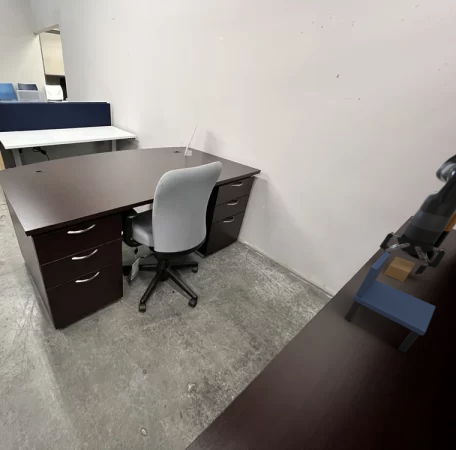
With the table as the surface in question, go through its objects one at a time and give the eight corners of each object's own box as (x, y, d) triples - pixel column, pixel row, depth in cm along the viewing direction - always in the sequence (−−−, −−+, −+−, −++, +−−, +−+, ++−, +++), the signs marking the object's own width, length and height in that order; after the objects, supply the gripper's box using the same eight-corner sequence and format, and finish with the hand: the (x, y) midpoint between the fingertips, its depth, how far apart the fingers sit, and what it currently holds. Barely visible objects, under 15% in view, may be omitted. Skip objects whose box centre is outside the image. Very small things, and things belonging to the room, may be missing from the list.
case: (409, 272, 84) (415, 263, 82) (403, 282, 79) (409, 272, 77) (391, 265, 88) (396, 256, 86) (384, 274, 83) (389, 264, 81)
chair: (418, 328, 62) (458, 277, 54) (406, 355, 55) (450, 301, 47) (358, 298, 71) (385, 250, 64) (342, 318, 64) (370, 267, 57)
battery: (431, 256, 94) (462, 209, 85) (431, 263, 90) (464, 214, 81) (406, 248, 99) (434, 203, 90) (405, 254, 94) (434, 208, 85)
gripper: (461, 231, 72) (430, 274, 79) (399, 214, 82) (377, 253, 89) (458, 238, 68) (426, 282, 75) (394, 219, 78) (370, 259, 85)
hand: (399, 266), depth 82 cm, fingers open, 8 cm apart
